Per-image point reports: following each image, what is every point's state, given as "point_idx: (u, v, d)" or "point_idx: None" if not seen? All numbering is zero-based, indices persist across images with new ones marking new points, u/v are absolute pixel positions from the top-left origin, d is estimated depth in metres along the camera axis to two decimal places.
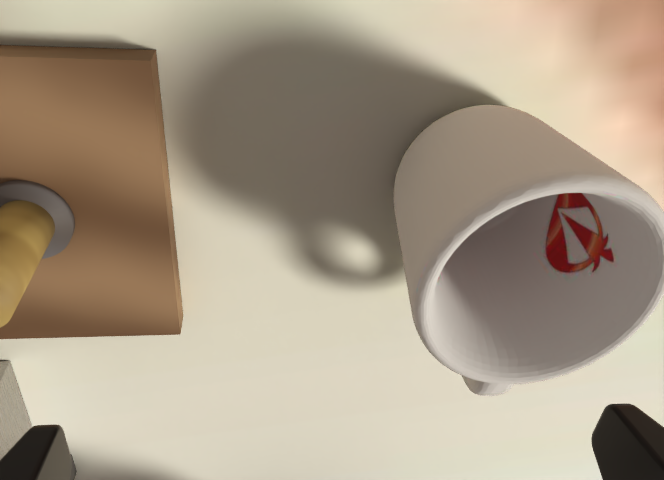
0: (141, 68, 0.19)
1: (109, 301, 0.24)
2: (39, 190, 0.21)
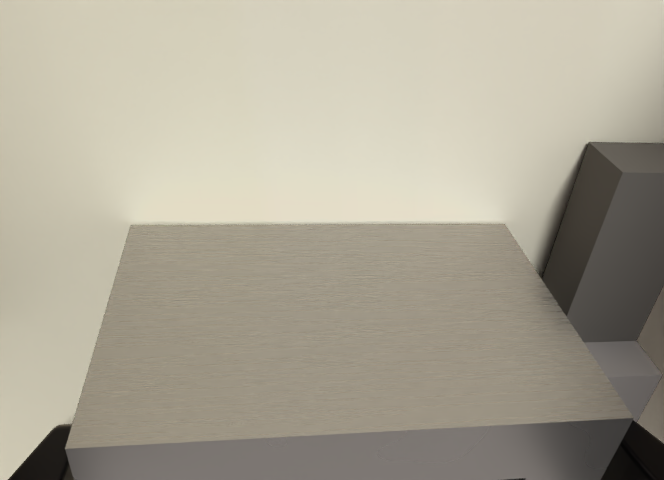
0: None
1: None
2: None
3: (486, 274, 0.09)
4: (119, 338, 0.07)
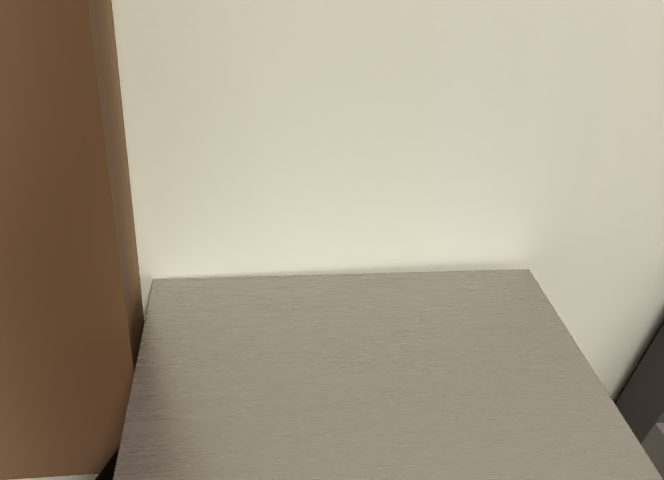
0: None
1: None
2: None
3: (514, 328, 0.09)
4: (148, 410, 0.07)
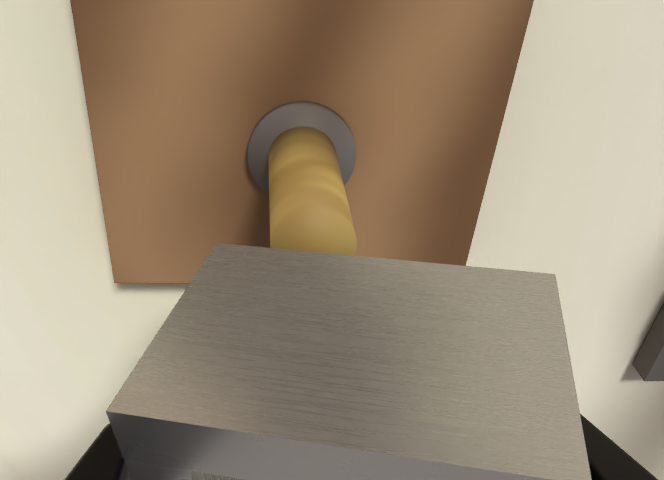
0: None
1: (447, 84, 0.17)
2: (255, 132, 0.17)
3: (510, 322, 0.09)
4: (172, 334, 0.09)
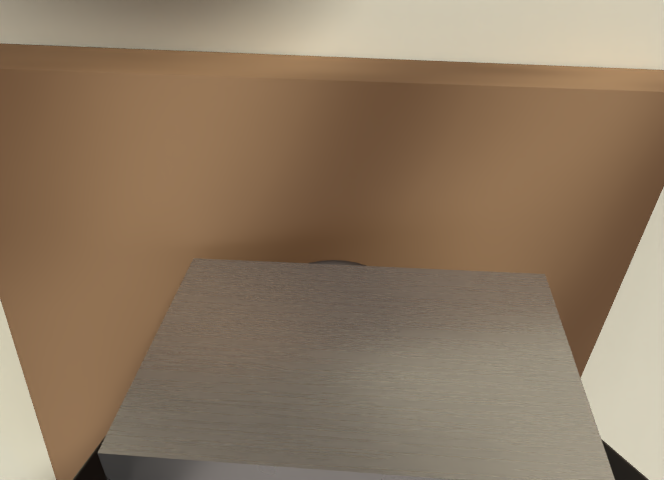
0: None
1: (550, 229, 0.11)
2: None
3: (510, 326, 0.09)
4: (160, 362, 0.08)
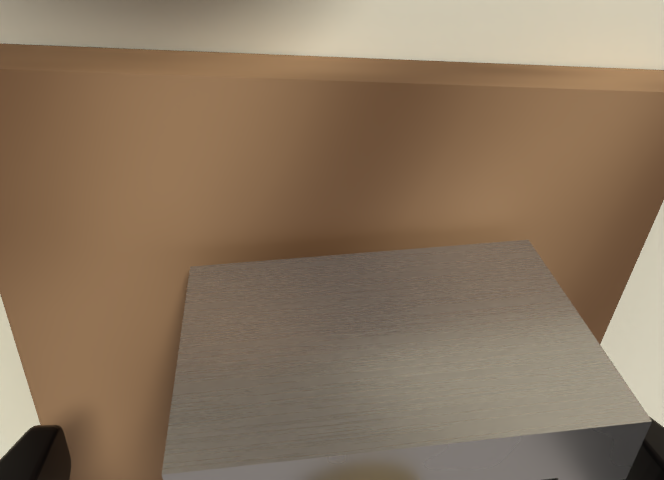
0: None
1: (554, 230, 0.11)
2: None
3: (514, 291, 0.09)
4: (193, 374, 0.08)
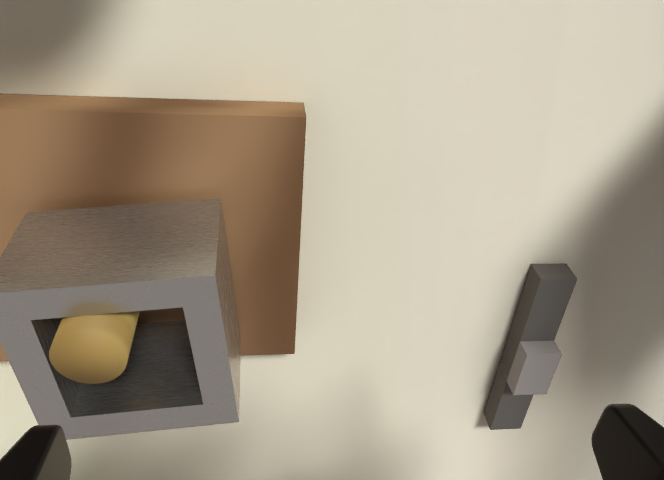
0: None
1: (243, 194, 0.19)
2: None
3: (193, 223, 0.18)
4: (8, 258, 0.16)
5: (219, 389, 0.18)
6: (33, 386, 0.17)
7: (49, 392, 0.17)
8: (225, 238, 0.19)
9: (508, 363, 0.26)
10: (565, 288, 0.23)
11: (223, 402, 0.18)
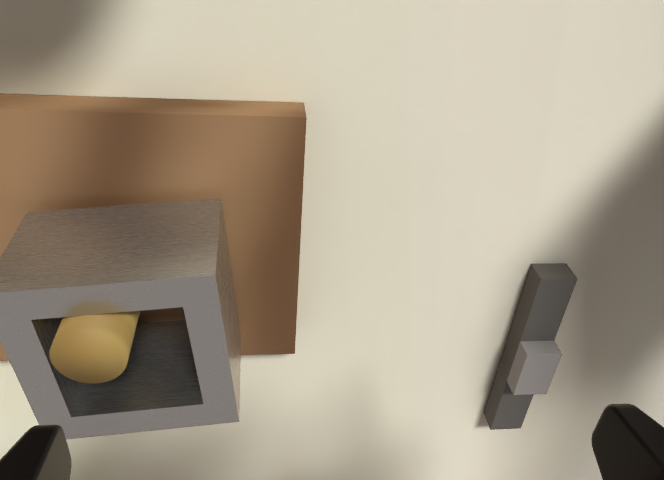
0: None
1: (243, 193, 0.19)
2: None
3: (193, 222, 0.18)
4: (8, 258, 0.16)
5: (219, 389, 0.18)
6: (33, 386, 0.17)
7: (49, 392, 0.17)
8: (225, 238, 0.19)
9: (508, 363, 0.26)
10: (565, 288, 0.23)
11: (223, 401, 0.18)
